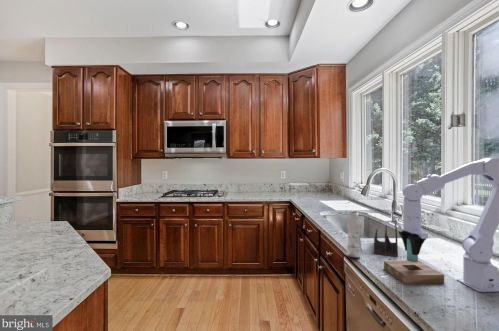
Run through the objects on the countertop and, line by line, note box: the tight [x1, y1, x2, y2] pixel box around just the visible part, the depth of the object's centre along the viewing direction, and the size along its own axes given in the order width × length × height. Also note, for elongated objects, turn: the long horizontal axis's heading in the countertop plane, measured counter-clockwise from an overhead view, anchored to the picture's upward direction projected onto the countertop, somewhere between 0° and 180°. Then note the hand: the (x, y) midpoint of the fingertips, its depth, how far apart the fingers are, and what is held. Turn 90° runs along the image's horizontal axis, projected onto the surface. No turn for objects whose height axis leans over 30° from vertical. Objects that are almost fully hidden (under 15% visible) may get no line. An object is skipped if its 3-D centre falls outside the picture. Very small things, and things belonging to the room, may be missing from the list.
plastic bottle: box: [346, 211, 363, 259], centre depth 124 cm, size 6×7×20 cm
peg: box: [406, 238, 419, 262], centre depth 103 cm, size 4×4×8 cm
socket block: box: [383, 260, 445, 285], centre depth 103 cm, size 14×14×3 cm
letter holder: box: [373, 219, 399, 258], centre depth 134 cm, size 10×20×14 cm, turn 153°
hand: (412, 252), depth 103 cm, fingers closed on peg, 4 cm apart
